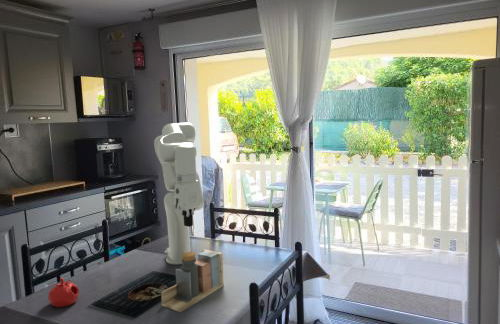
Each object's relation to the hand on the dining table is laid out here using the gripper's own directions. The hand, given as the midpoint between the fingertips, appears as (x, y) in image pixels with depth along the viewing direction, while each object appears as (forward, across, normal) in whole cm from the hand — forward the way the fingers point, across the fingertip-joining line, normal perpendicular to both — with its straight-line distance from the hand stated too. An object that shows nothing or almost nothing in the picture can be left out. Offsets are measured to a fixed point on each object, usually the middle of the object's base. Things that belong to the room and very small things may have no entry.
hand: (188, 225), depth 144 cm
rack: (+23, -7, -8) cm, 25 cm away
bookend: (+22, -13, -8) cm, 26 cm away
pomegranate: (+24, -36, +28) cm, 51 cm away
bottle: (+22, -8, -8) cm, 25 cm away
